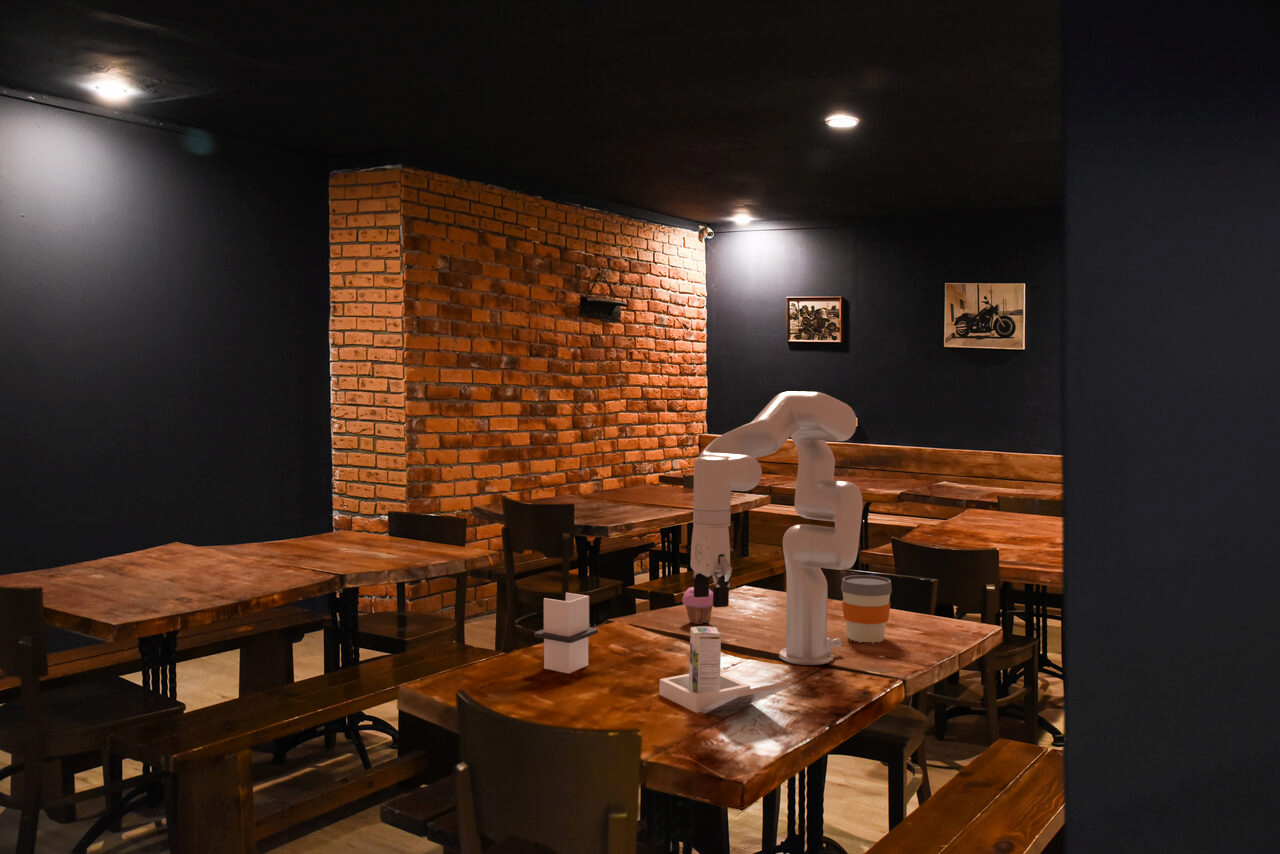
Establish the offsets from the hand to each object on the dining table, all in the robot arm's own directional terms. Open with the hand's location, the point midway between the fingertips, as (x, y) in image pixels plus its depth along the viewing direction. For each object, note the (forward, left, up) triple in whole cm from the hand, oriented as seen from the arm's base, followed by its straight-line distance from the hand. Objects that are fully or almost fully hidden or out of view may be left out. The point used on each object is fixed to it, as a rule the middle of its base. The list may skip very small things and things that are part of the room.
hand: (710, 601), depth 208 cm
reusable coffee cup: (-63, -20, -21) cm, 70 cm away
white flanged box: (+13, -38, -21) cm, 45 cm away
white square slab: (0, +11, -17) cm, 21 cm away
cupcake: (-36, -55, -21) cm, 69 cm away
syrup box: (0, -3, -21) cm, 21 cm away
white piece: (0, -2, -21) cm, 21 cm away
